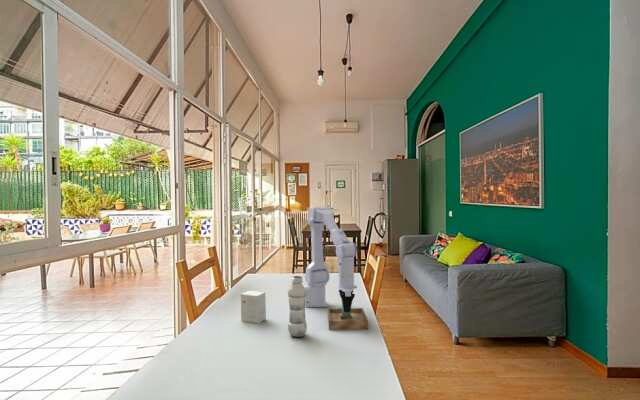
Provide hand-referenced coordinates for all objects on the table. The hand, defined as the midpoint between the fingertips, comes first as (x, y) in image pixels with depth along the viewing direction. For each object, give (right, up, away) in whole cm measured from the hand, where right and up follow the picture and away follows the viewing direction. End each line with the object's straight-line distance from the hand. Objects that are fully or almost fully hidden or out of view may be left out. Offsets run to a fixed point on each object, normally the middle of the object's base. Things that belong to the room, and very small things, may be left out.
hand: (346, 310), depth 131 cm
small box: (-36, -5, +4) cm, 37 cm away
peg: (0, -2, 0) cm, 2 cm away
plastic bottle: (-18, -5, -12) cm, 22 cm away
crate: (0, -5, 0) cm, 4 cm away
